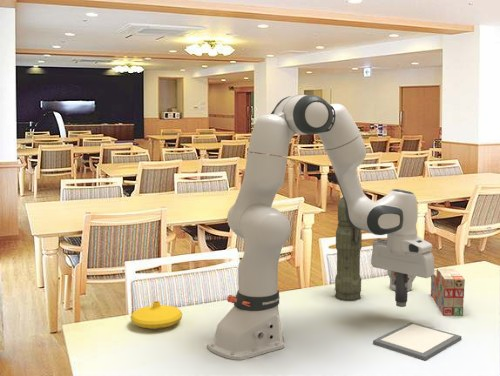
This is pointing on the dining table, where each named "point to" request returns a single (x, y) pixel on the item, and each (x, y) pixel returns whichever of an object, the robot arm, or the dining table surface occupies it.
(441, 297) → the stack of blocks
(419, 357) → the writing board
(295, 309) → the dining table surface
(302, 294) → the dining table surface
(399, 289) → the marker
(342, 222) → the thermos
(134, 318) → the yellow lid
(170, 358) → the dining table surface
